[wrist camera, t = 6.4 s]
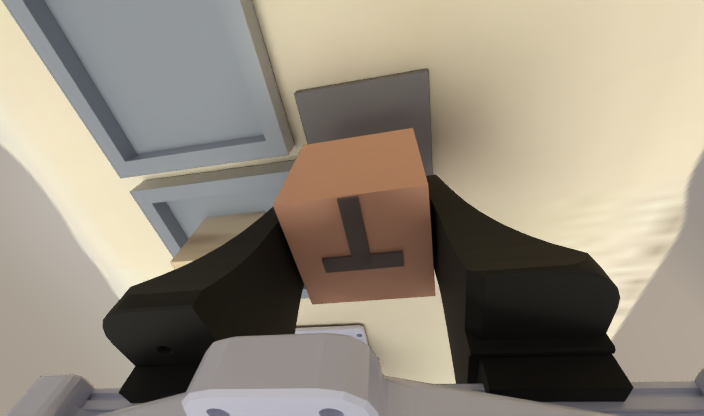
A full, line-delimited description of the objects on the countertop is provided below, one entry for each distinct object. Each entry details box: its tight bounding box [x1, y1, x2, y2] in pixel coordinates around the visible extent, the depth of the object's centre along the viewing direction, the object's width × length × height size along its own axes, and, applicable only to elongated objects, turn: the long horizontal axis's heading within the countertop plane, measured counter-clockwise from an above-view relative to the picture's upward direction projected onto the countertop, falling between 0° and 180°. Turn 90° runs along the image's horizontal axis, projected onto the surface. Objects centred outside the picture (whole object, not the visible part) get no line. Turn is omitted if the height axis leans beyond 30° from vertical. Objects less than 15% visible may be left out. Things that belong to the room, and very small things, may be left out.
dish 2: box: [130, 160, 309, 298], centre depth 22 cm, size 11×11×2 cm
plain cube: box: [170, 211, 266, 269], centre depth 21 cm, size 4×4×4 cm
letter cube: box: [273, 128, 435, 304], centre depth 12 cm, size 4×5×5 cm
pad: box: [294, 69, 433, 176], centre depth 18 cm, size 7×7×1 cm
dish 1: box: [2, 0, 294, 178], centre depth 16 cm, size 11×11×2 cm
